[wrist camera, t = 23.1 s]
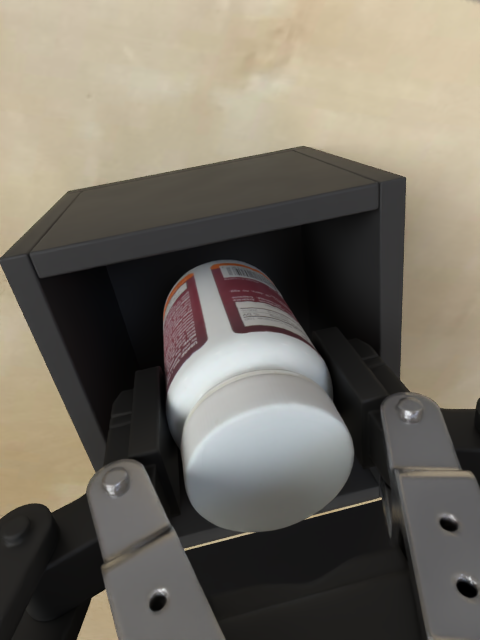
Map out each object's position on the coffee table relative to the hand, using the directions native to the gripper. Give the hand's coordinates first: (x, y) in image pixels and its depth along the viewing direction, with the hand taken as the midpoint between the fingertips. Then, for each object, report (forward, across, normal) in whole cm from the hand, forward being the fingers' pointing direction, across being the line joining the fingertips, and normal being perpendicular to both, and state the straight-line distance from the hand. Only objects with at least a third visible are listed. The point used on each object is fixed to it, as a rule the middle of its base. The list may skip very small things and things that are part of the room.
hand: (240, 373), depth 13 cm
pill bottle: (+5, 0, 0) cm, 5 cm away
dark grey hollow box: (+11, 0, +2) cm, 11 cm away
